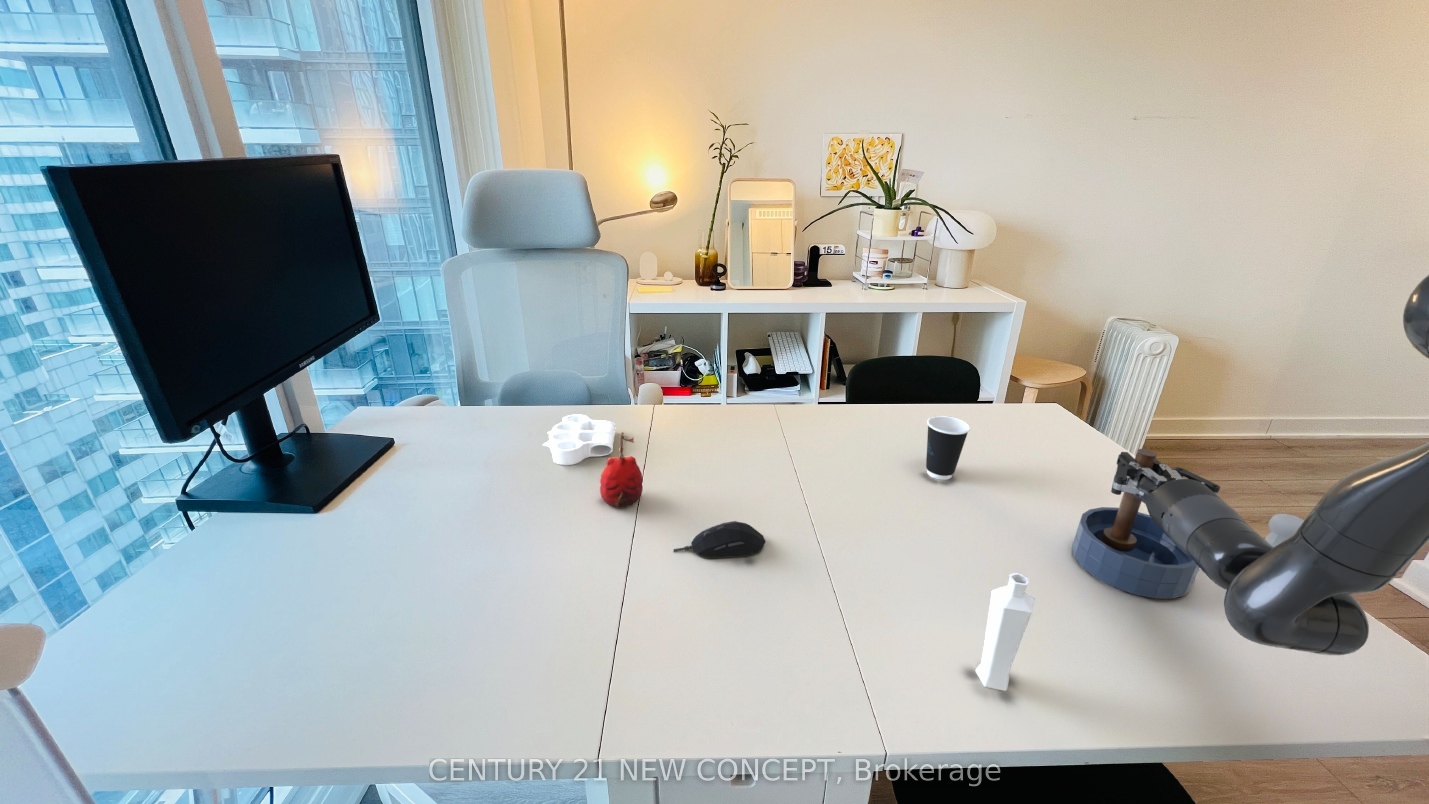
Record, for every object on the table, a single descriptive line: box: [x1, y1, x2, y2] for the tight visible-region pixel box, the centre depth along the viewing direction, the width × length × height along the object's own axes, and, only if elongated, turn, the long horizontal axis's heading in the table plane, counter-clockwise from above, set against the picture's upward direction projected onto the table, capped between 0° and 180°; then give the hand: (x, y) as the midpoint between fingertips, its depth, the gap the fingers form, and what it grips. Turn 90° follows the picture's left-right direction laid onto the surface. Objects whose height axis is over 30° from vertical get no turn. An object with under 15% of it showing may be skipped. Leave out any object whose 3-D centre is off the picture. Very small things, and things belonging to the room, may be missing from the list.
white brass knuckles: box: [542, 413, 617, 466], centre depth 128 cm, size 3×18×15 cm
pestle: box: [1101, 448, 1158, 552], centre depth 90 cm, size 4×4×16 cm
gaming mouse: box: [672, 520, 766, 559], centre depth 95 cm, size 6×15×4 cm, turn 99°
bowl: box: [1071, 506, 1200, 600], centre depth 92 cm, size 16×16×6 cm
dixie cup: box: [925, 415, 971, 481], centre depth 117 cm, size 8×8×11 cm
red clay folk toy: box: [599, 431, 644, 509], centre depth 105 cm, size 8×7×15 cm
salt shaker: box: [1264, 513, 1305, 547], centre depth 85 cm, size 6×6×13 cm
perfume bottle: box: [975, 572, 1036, 692], centre depth 70 cm, size 5×4×15 cm
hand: (1132, 458), depth 91 cm, fingers closed on pestle, 2 cm apart
